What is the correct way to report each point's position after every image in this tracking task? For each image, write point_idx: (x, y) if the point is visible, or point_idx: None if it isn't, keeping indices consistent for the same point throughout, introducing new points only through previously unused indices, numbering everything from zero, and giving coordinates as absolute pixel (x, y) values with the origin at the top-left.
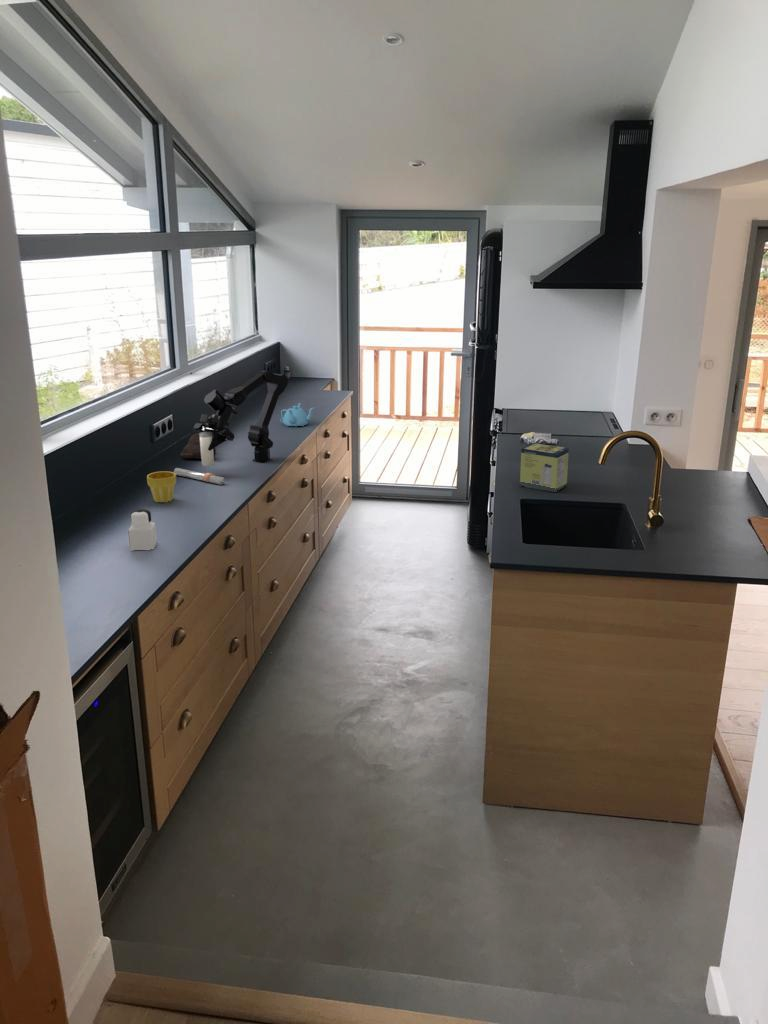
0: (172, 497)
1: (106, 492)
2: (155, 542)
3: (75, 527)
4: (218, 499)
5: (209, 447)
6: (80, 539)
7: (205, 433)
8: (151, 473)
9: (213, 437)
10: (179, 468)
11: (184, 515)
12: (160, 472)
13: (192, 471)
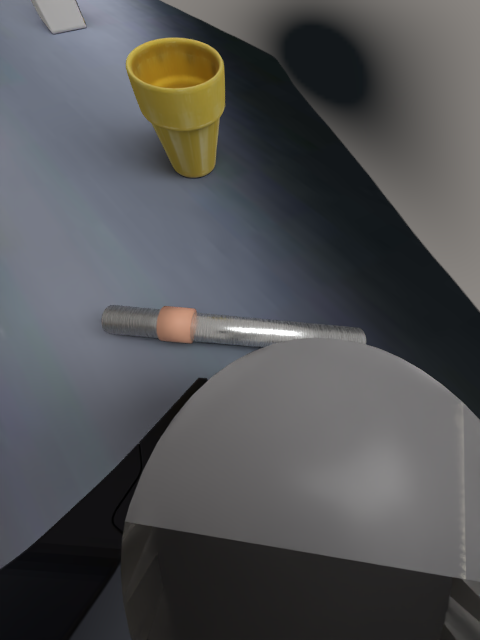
0: (171, 162)
1: (353, 158)
2: (41, 16)
3: (226, 44)
4: (56, 211)
5: (191, 387)
6: (178, 23)
7: (305, 501)
8: (220, 63)
9: (117, 550)
10: (349, 338)
11: (80, 115)
12: (206, 83)
13: (270, 328)
